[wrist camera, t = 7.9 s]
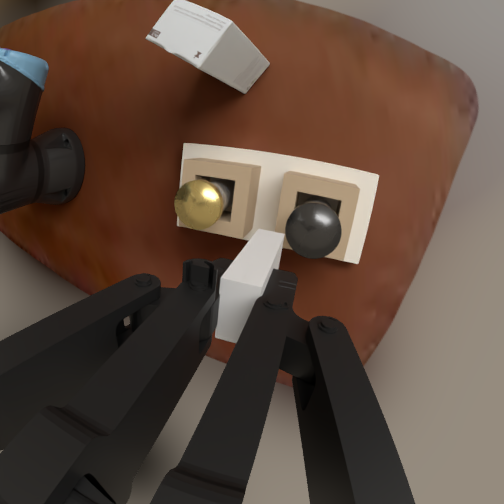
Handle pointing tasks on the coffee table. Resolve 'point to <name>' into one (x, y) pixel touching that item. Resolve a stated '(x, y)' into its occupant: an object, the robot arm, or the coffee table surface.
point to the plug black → (313, 228)
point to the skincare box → (209, 44)
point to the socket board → (276, 183)
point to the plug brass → (203, 202)
